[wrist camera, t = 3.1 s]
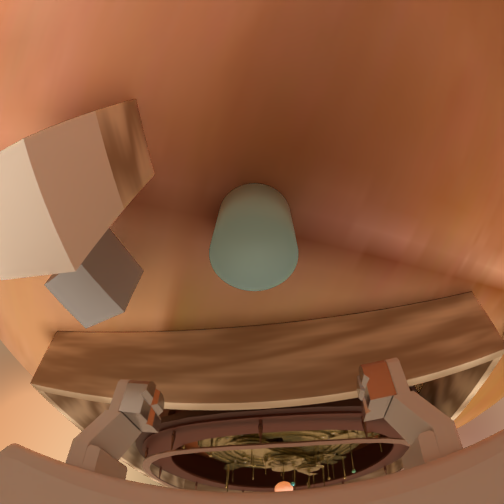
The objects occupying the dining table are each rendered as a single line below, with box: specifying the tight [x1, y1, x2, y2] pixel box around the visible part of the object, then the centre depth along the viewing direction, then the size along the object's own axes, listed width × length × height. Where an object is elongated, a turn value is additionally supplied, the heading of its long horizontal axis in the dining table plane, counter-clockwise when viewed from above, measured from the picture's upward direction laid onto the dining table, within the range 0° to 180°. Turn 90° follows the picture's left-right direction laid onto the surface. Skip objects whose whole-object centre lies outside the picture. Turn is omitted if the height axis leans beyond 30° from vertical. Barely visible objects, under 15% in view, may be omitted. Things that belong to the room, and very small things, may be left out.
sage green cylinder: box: [209, 183, 298, 291], centre depth 19 cm, size 5×5×5 cm
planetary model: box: [136, 385, 418, 492], centre depth 36 cm, size 43×45×12 cm
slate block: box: [45, 228, 143, 328], centre depth 22 cm, size 5×5×5 cm
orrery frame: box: [31, 292, 504, 492], centre depth 37 cm, size 48×46×8 cm
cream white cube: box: [0, 111, 124, 280], centre depth 11 cm, size 6×6×6 cm
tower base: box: [95, 99, 155, 209], centre depth 16 cm, size 6×6×6 cm
